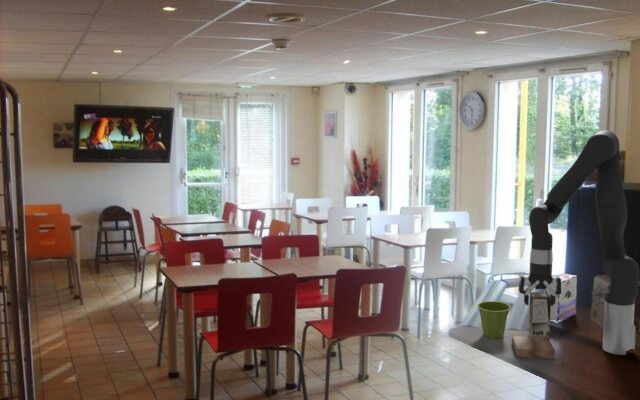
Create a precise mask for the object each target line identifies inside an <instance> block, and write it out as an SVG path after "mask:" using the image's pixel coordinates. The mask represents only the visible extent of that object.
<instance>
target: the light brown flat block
mask: <svg viewBox="0 0 640 400" xmlns="http://www.w3.org/2000/svg"><path fill="white" fill-rule="evenodd" d="M511 345H512V347H514V348H513V350H514V353H515V352H516V353H515V355H516V357H517V358H523V359H525V357H527V359H528V358H529V359H531V358H532V359H555V352H556V350H555V348H554V346H553V344H552V342H551V341H550V339H548V337H530V336H516V335H515V336H514V335H513V336H512V339H511Z"/></svg>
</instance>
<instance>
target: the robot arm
mask: <svg viewBox="0 0 640 400" xmlns="http://www.w3.org/2000/svg"><path fill="white" fill-rule="evenodd" d="M620 155H621V154H620V140H619V138H618V136H617V135H616V133H614V132H612V131H610V130H599V131H598V132H596V133H594V134H592V135H591V136H590V137H589V138H588V139H587V141H586V143H585V145H584V147H583V149H582V151H581V152H580V154H579V155H578V157H577V159H576V160H575V161H574V163H573V164H572V165H571V167H570V168H568V170H567V171H566V172H565V173H564V174H563V176H561V178H560V179H559V180H558V181H557V182H556V184H555V185H553V187H552V188H551V189H550V190H549V192H548V194H547V197H546V200H545V201H544V202H543V203H542V204H541V205H538V206H535V207H533V208H532V209H531V210H530V213H529V216H528V220H529V221H528V222H529V228H530V229H529V230H530V234H531V245H530V246H531V249H530V252H529V253H530V255H529V256H530V257H529V275H528V276H524V275H520V276H519V282H518V283H519V284H518V291H519V293H520V294H522V295H523V302H524V304H525V305H526V306H530V292H533V291H534V289H535V290H546V288H548V290H549V291H550V292H551V294H550V298H551V306H553V304H555V297H556V295H558V294H561V279H560V277H558V276H559V275H556V276H557V277H556V276H553V274H552V273H553V262H554V261H553V259H554V258H553V256H554V255H553V241H554V240H553V234H552V232H550V230H549V225H550V224H552V223H553V222H555V221H556V220H557V219H558V218H559V216H560V215H561V213H562V211H563V210H564V208H565V206H566V205H567V204H568V203H569V202H570V201H571V200H572V198H574V196H575V195H576V194H577V192H578V191H579V190H580V188H581V187H582V186H583V184H584V183H585V181H586V180H587V179H588V177H589V176H591V174H592V173H593V172H594V171H595V170H596V183H595V184H596V185H595V208H596V209H595V210H596V214H597V222H598V228H599V234H600V239H601V265H602V271H603V273H604V274H605V276H606V277H608V278H609V279H610V287H609V290H607V291H605V293H604V305H603V306H604V308H603V311H604V313H603V332H602V333H603V334H602V335H603V337H602V349H603V351H604V352H607V353H609V354H612V355H618V356H626V351H628V350H630V349H634V350H635V348H636V347H635V346H636V345H635V344H636V326H635V324H634V321H635V301H636V297H637V296H638V294H639V293H638V291H639V283H640V267H639V264H638V262H637V261H636V260H634V258H631V257H630V256H628V255H627V253H626V248H625V242H624V233H625V229H626V225H627V222H628V209H627V208H628V207H627V201H626V196H625V190H624V189H625V187H624V183H623V178H622V173H621V165H620V164H621V160H620ZM553 277H554V278H553ZM527 281H528V282H529V284H527V287H526V288H525V284H526V283H527ZM552 281H554V282H555V283H556V290H555V291H553V289H552V288H551V287H550V284H551V283H552Z"/></svg>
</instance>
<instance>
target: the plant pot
mask: <svg viewBox="0 0 640 400" xmlns="http://www.w3.org/2000/svg"><path fill="white" fill-rule="evenodd" d="M476 306H477V309H478V310H479V314H480V315H479V316H480V321H481V328H482V332H483V336H484V335H486V336H488V337H487V338H491V337H493V338H492V339H501V338H502V337H504V335H505V330H506V325H507V319H508V315H509V312H510V310H511V308H512V307H511V305H510V304H508V303H506V302H502V301H496V300H495V301H494V300H491V301H490V300H489V301H487V300H486V301H481V302H479V303H477V305H476ZM486 336H485V337H486Z"/></svg>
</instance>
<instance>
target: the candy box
mask: <svg viewBox="0 0 640 400" xmlns="http://www.w3.org/2000/svg"><path fill="white" fill-rule="evenodd" d="M557 276H558V277H560V279H561V294H558V295H556V297H555V304H553V306H551V312H550V320H556V321H558V320H561V319H564V318H566V317H569V316H572V315H574V314H576V315H577V293H578V292H577V291H578V290H577V289H578V287H577V286H578V285H577V284H578V276H577V275H573V274H570V273H562V274H559V275H556V276H552V278H554V277H557ZM550 287H551V288H552V289H553V291H555V290H556V283H555V282H554V281H552V283H551V284H550ZM545 292H547V293H548V295H549V296H550V294H551V292H550V291H549V290H548V288H546V289H545Z"/></svg>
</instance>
